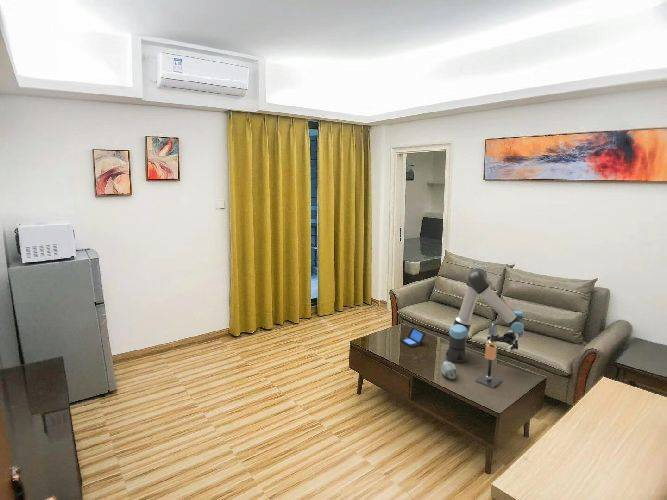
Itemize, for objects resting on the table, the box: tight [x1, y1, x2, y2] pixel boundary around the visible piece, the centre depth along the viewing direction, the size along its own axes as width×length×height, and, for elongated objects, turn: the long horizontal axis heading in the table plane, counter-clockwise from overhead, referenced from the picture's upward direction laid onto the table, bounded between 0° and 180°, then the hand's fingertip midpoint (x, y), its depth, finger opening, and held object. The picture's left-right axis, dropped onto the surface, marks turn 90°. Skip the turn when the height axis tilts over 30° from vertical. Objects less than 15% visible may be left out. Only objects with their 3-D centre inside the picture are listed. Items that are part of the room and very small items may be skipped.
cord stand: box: [474, 322, 503, 389], centre depth 257 cm, size 12×12×39 cm
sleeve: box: [484, 344, 498, 361], centre depth 257 cm, size 5×5×8 cm
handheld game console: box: [399, 326, 426, 348], centre depth 317 cm, size 16×13×9 cm
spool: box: [440, 360, 457, 380], centre depth 267 cm, size 14×10×10 cm
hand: (497, 346), depth 263 cm, fingers open, 13 cm apart
